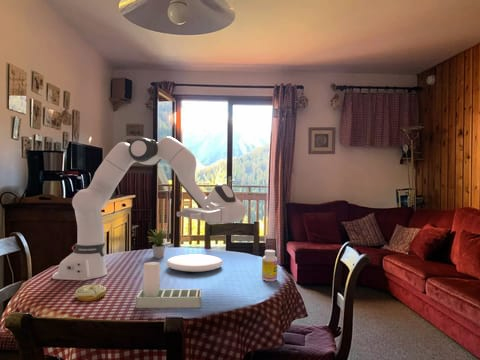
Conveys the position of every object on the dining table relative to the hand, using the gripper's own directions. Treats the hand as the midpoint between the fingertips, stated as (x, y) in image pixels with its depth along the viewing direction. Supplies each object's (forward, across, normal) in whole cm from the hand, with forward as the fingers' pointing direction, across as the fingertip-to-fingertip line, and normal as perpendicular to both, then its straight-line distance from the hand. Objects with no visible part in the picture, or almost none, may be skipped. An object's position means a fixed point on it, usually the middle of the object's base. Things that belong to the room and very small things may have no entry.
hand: (183, 215), depth 144 cm
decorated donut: (+30, -15, +30) cm, 45 cm away
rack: (+10, +8, +30) cm, 33 cm away
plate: (-23, -28, +30) cm, 48 cm away
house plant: (-20, -62, +30) cm, 72 cm away
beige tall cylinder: (+15, +4, +29) cm, 33 cm away
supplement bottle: (-40, +8, +30) cm, 50 cm away
